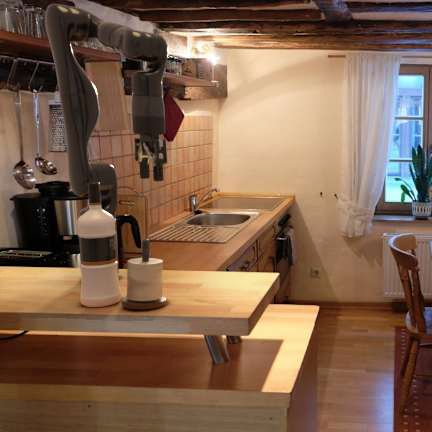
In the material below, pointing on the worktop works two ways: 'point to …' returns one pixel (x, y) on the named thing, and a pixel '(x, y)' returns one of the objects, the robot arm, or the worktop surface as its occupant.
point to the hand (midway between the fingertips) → (151, 179)
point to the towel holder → (144, 281)
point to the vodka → (98, 254)
